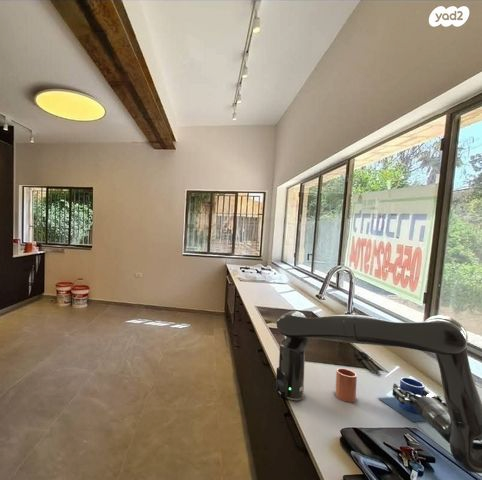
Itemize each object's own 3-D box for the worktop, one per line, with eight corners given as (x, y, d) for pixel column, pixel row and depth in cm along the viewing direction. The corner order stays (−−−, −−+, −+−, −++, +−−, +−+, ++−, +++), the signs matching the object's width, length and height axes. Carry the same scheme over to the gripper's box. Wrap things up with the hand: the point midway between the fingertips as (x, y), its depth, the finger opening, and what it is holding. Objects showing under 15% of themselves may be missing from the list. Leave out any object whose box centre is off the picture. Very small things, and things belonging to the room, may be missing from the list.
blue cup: (412, 414, 97) (413, 387, 97) (394, 403, 103) (395, 377, 103) (428, 413, 98) (429, 386, 97) (409, 402, 104) (410, 376, 104)
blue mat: (413, 422, 93) (413, 421, 93) (378, 399, 106) (378, 398, 106) (445, 419, 95) (445, 419, 95) (407, 397, 108) (407, 396, 108)
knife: (381, 377, 123) (382, 374, 123) (364, 373, 126) (364, 370, 126) (367, 354, 146) (367, 352, 146) (353, 351, 148) (353, 349, 148)
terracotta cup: (344, 402, 104) (345, 377, 103) (331, 392, 110) (332, 368, 110) (359, 401, 104) (361, 376, 104) (346, 391, 111) (347, 367, 111)
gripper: (466, 409, 84) (432, 381, 100) (410, 399, 89) (386, 374, 104) (465, 432, 85) (431, 401, 100) (409, 421, 89) (385, 393, 104)
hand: (408, 387), depth 102 cm, fingers open, 8 cm apart
